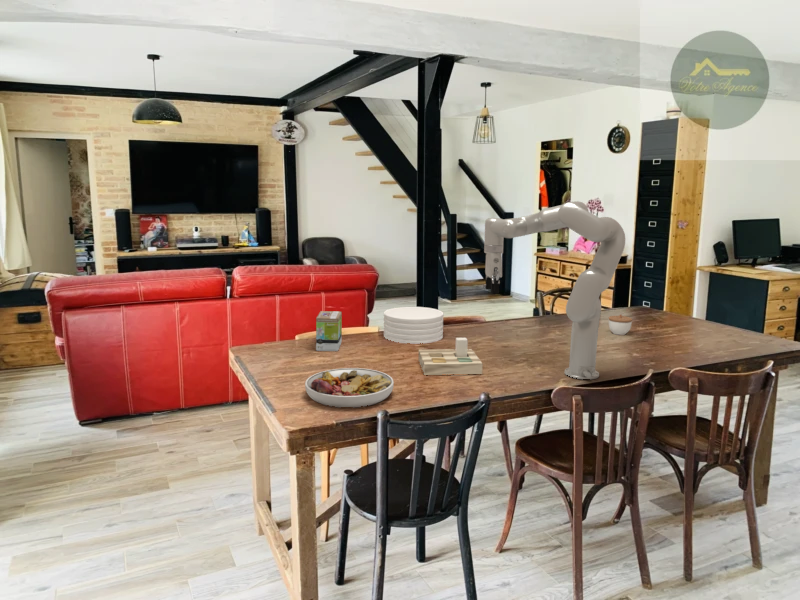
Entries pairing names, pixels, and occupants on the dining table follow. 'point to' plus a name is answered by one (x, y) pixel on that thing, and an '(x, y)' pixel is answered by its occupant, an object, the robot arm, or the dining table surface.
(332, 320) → the tea box
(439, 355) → the socket block
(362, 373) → the bowl
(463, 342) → the plug
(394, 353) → the dining table surface
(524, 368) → the dining table surface
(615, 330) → the lidded jar
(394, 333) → the plate stack
